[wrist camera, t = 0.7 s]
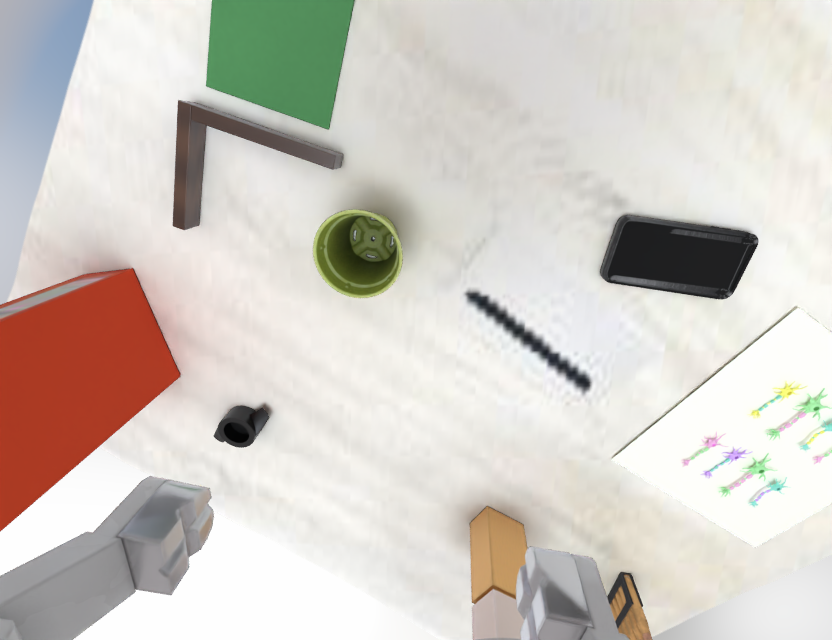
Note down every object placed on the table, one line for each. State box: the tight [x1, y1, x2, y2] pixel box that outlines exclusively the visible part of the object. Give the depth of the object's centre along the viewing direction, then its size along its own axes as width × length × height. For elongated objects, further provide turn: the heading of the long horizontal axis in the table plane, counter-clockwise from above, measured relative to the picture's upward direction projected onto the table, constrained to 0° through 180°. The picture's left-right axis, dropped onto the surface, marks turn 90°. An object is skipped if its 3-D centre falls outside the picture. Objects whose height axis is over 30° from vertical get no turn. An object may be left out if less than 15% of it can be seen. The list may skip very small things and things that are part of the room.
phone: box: [600, 215, 758, 299], centre depth 45 cm, size 8×1×15 cm
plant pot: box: [313, 209, 403, 298], centre depth 45 cm, size 9×9×9 cm
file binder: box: [0, 269, 180, 531], centre depth 43 cm, size 8×17×32 cm, turn 8°
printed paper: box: [611, 307, 832, 548], centre depth 54 cm, size 30×30×2 cm
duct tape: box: [214, 406, 269, 447], centre depth 62 cm, size 8×10×3 cm
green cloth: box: [206, 0, 354, 129], centre depth 41 cm, size 13×14×1 cm
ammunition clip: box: [607, 573, 652, 640], centre depth 66 cm, size 11×2×12 cm, turn 174°
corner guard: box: [173, 100, 343, 230], centre depth 46 cm, size 14×18×3 cm
